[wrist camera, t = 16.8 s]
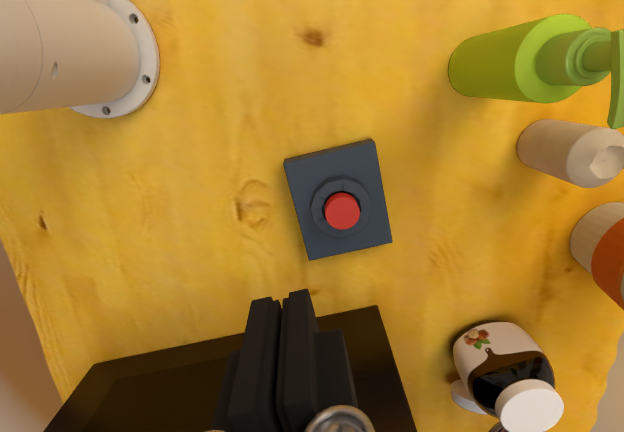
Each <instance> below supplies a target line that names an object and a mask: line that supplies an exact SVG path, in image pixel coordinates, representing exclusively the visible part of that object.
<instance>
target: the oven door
mask: <svg viewBox="0 0 624 432" xmlns="http://www.w3.org/2000/svg"><path fill="white" fill-rule="evenodd" d="M316 320H317V324H318V327H319V331H320V332H324V331H328V330H333V329H338V328H341V329H342V332H343V336H344V340H345V344H346V348H347V353H348V357H349V362H350V366H351V371H352V376H353V382H354V388H355V393H356V399H357V405H358V409H360V410H361V411H362V412H363V413H364V414H366V415H367V417H368V418H369V420H370V422H371V423H372V425H373V428H374V430H375V432H417V429H416V426H415V423H414V420H413V417H412V414H411V410H410V407H409V404H408V401H407V398H406V395H405V391H404V388H403V385H402V382H401V379H400V376H399V372H398V369H397V366H396V363H395V360H394V357H393V353H392V350H391V347H390V344H389V341H388V338H387V334H386V331H385V328H384V325H383V322H382V319H381V315H380V312H379V309H378V306H377V305H376V306H371V307H366V308H362V309H357V310H352V311H347V312H342V313H338V314H333V315H328V316H323V317H318V318H316ZM244 334H245V333H242V334H237V335H232V336H227V337H222V338H218V339H213V340H208V341H203V342H198V343H194V344H189V345H184V346H179V347H174V348H170V349H165V350H160V351H155V352H150V353H146V354H141V355H136V356H131V357H126V358H122V359H117V360H112V361H107V362H102V363H98V364H94V365H93V366H92V367H91V369H90V370H89V371H88V373H87V374H86V375H85V377H84V378H83V379H82V381H81V382H80V383H79V385H78V386H77V387H76V389H75V390H74V391H73V393H72V394H71V395H70V397H69V398H68V399H67V401H66V402H65V403H64V405H63V406H62V407H61V409H60V410H59V411H58V413H57V414H56V415H55V417H54V418H53V419H52V421H51V422H50V423H49V425H48V426H47V428H46V429H45V430H44V431H43V432H206V431H210V428H211V424H212V421H213V417H214V413H215V409H216V405H217V401H218V397H219V393H220V389H221V385H222V381H223V377H224V374H225V370H226V366H227V362H228V358H229V355H230V352H231V351H233V350H237V349H241V348H242V343H243V339H244Z"/></svg>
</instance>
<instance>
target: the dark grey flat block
mask: <svg viewBox="0 0 624 432" xmlns="http://www.w3.org/2000/svg"><path fill="white" fill-rule="evenodd" d="M283 165H284V169H285V172H286V176H287V180H288V183H289V187H290V191H291V195H292V198H293V202H294V206H295V210H296V213H297V217H298V221H299V224H300V228H301V232H302V236H303V239H304V243H305V247H306V251H307V254H308V258H309V261H310V260H315V259H319V258H324V257H329V256H333V255H338V254H342V253H347V252H351V251H356V250H360V249H365V248H370V247H374V246H379V245H383V244H388V243H392V236H391V231H390V225H389V219H388V214H387V208H386V202H385V197H384V191H383V185H382V180H381V174H380V168H379V162H378V157H377V151H376V145H375V142H374V141H373V140H372V139H367V140H363V141H358V142H354V143H350V144H346V145H342V146H338V147H333V148H329V149H325V150H321V151H317V152H313V153H308V154H304V155H300V156H296V157H292V158H288V159H285V160H284V163H283ZM336 193H347V194H349V195H351V196H352V197H354V199H355V200H356V202H357V204H358V207H359V210H360V216H359V219H358V221H357V222H356V224H355V225H353V226H352V227H350V228H348V229H342V230H341V229H336V228H334V227H332V226H331V225H330V224H329V223H328V222H327V220H326V216H325V204H326V202H327V200H328V199H329V198H330V197H331V196H332V195H334V194H336Z"/></svg>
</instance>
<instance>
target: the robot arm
mask: <svg viewBox="0 0 624 432" xmlns="http://www.w3.org/2000/svg"><path fill="white" fill-rule="evenodd" d="M136 18H138V22H137V23H136V21H135V19H136ZM159 69H160V57H159V49H158V45H157V42H156V38H155V35H154V33H153V31H152V29H151V27H150V25H149V23H148V22H147V20H146V19H145V17H144V16H143V14H142V13H141V12H140V10H139V9H138V8H137V7H136V6H135V5H134V4H133V3H132V2H131V1H130V0H0V114H8V113H17V112H27V111H36V110H45V109H55V108H64V107H69V108H70V109H72V110H74V111H76V112H78V113H80V114H83V115H86V116H90V117H94V118H105V119H106V118H115V117H120V116H124V115H127V114H129V113H132V112H134V111H136V110H137V109H138V108H140V107H141V106H142V105H144V104H145V102H146V101H147V100H148V99H149V98H150V96H151V95H152V93H153V91H154V89H155V87H156V84H157V80H158V77H159ZM148 77H149V78H150V82H148V81H147V78H148ZM109 108H110V112H109V110H108V109H109ZM206 432H375V430H374V428H373V425H372V423H371V422H370V420H369V418H368V417H367V415H366V414H364V413H363V412H362V411H361V410H360V409H358V405H357V399H356V393H355V388H354V382H353V376H352V371H351V366H350V362H349V357H348V353H347V348H346V344H345V340H344V336H343V332H342V329H341V328H338V329H333V330H328V331H324V332H320V331H319V327H318V324H317V320H316V316H315V313H314V309H313V305H312V301H311V298H310V294H309V291H308V289H303V290H299V291H294V292H290V293H289V298H285V299H283V307H282V308H281V305H280V302H279V300H275V301H273V299H272V298H271V297H266V298H261V299H257V300H253V301H252V302H251V306H250V311H249V316H248V320H247V325H246V329H245V334H244V339H243V343H242V348H241V349H237V350H233V351H231V352H230V355H229V358H228V362H227V366H226V370H225V374H224V377H223V381H222V385H221V389H220V393H219V397H218V401H217V405H216V409H215V413H214V417H213V421H212V424H211V428H210V431H206Z"/></svg>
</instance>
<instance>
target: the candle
mask: <svg viewBox="0 0 624 432" xmlns="http://www.w3.org/2000/svg"><path fill="white" fill-rule="evenodd" d="M517 153H518V156H519V158H520V160H521V161H522V162H523V163H524V164H525V165H527V166H529V167H531V168H533V169H536V170H538V171H541V172H544V173H546V174H549V175H551V176H554V177H557V178H559V179H562V180H565V181H567V182H570V183H572V184H575V185H578V186H580V187H584V188H594V187H598V186H602V185H604V184H606V183H608V182H609V181H611V180H612V179H613V178H614V177H616V176H617V175H618V174H619V172H620V171H621V170H622V169H623V167H624V136H623V135H622V134H621V133H620V132H619V131H617V130H615V129H611V128H606V127H599V126H593V125H586V124H580V123H573V122H567V121H560V120H553V119H544V120H539V121H536V122H534V123H532V124H531V125H529V126H528V127H527V128H526V129H525V130H524V131H523V133H522V134H521V136H520V138H519V140H518V144H517Z"/></svg>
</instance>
